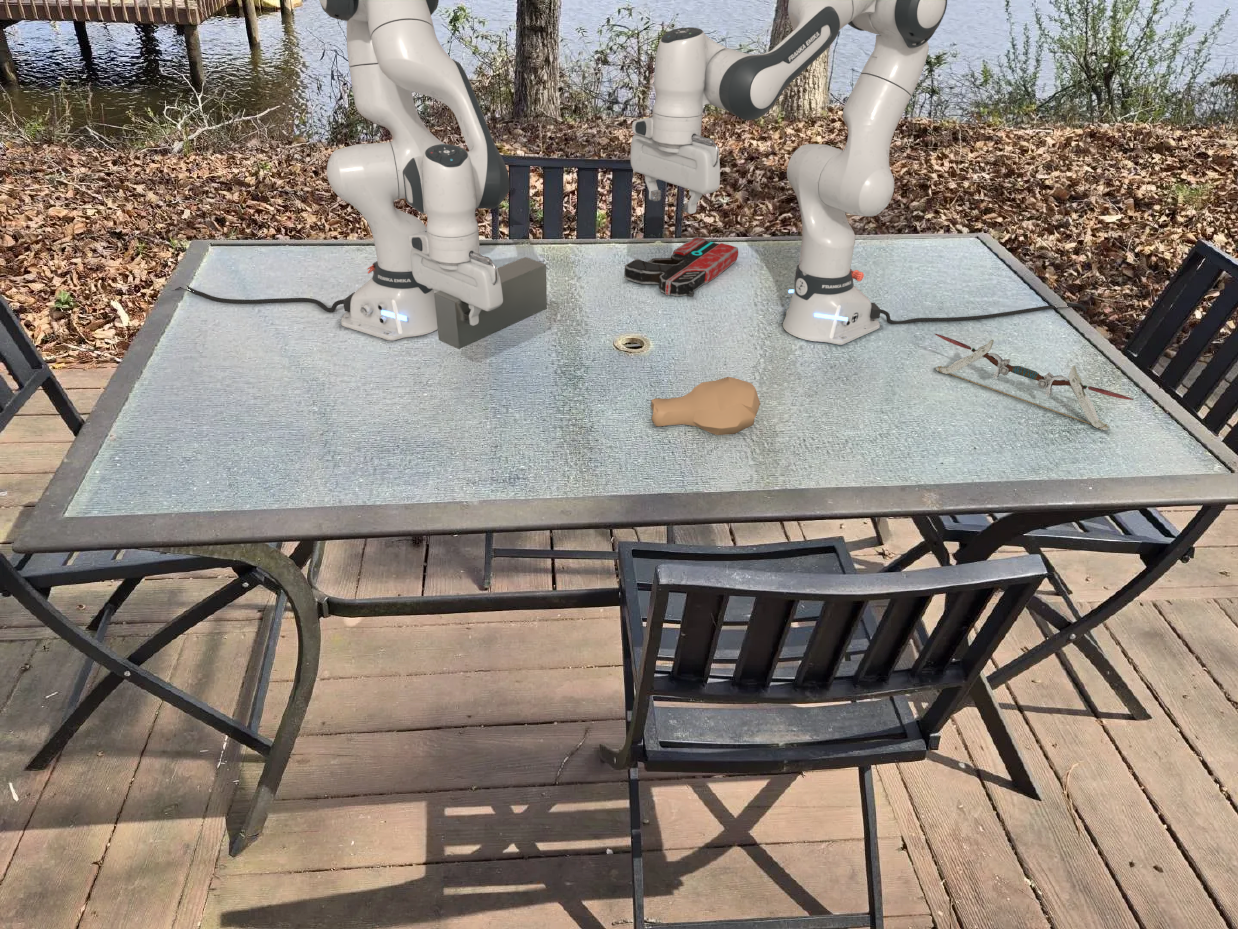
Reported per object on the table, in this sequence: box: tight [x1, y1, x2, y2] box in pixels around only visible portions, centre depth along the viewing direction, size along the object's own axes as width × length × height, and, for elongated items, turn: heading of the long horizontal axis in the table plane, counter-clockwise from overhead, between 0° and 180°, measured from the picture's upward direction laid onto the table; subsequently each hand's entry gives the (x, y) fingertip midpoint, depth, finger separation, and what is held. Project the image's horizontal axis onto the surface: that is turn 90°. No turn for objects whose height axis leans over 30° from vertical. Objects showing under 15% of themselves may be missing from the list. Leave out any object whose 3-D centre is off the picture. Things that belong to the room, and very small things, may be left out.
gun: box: [623, 236, 739, 298], centre depth 223 cm, size 4×31×19 cm
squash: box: [650, 376, 761, 436], centre depth 160 cm, size 11×20×9 cm, turn 90°
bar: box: [434, 256, 548, 350], centre depth 165 cm, size 23×6×9 cm, turn 141°
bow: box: [934, 333, 1135, 431], centre depth 171 cm, size 39×2×10 cm, turn 47°
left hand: (459, 317), depth 160 cm, fingers closed on bar, 5 cm apart
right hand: (672, 206), depth 164 cm, fingers open, 8 cm apart
